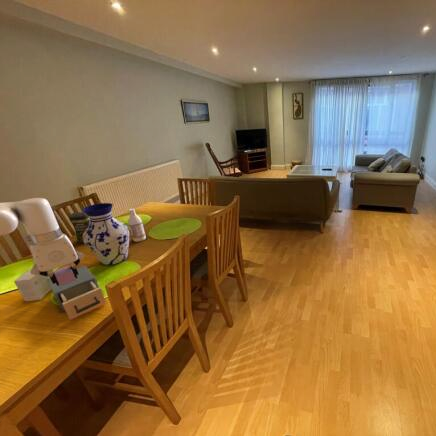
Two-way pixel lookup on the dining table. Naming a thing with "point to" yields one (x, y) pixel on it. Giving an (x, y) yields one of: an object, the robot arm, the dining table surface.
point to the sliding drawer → (82, 299)
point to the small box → (32, 286)
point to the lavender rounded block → (64, 275)
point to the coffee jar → (79, 224)
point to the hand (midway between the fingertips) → (66, 280)
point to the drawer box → (72, 283)
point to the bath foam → (136, 227)
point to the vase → (106, 235)
